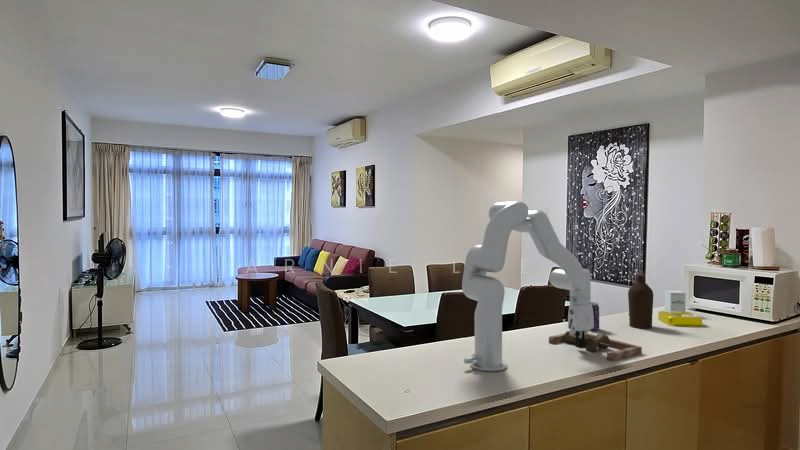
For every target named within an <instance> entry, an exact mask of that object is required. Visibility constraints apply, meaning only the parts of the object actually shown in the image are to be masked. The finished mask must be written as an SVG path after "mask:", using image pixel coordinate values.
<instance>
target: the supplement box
mask: <svg viewBox="0 0 800 450" xmlns="http://www.w3.org/2000/svg"><path fill="white" fill-rule="evenodd" d="M686 293H687V292H684V291H681V290H672V289H671V290H668V289H667V290H666V289H665V290H664V311H667V312H669V311H670V312H672V311H673V312H686V295H687V294H686Z"/></svg>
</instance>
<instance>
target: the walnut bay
mask: <svg viewBox="0 0 800 450" xmlns="http://www.w3.org/2000/svg"><path fill="white" fill-rule="evenodd" d="M564 334H565V333H561V334H556V335H551V336H548V343H549V344H552V345H553V344H559V343H562V342H565V341H564ZM596 336H597V335H596V334H591V333H588V332H587V334H586V338H592V339H596ZM609 340H610V345H611V346H612V347H611V348H614V349H617V350H614V351H610V352H607V353H606V361H609V362H615V361H618V360H619V361H620V360H623V359H626V358H630V357H634V356H637V355H641V354H642V353H643V352H642V351H643V349H642V346H640V345H635V344H631V343H627V342H623V341H619V340H616V339H611V338H609Z"/></svg>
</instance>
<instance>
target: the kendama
mask: <svg viewBox="0 0 800 450" xmlns="http://www.w3.org/2000/svg"><path fill="white" fill-rule="evenodd" d="M563 334H564V342H565V343H566V344H569V343H573V344H574V345H576V337H575V336H574V334H571V333H570V330H567V331H565V333H563ZM609 339H610V338H609V336H608V335H606V334H605V333H598V334H597V335H596V339H592V338H585V348H584V349H585V350H586V351H587V352H592V353H594V352H595V353H596V351H597V349H598V348H601V349H608V348H613V347H612V346H611V345H610V340H609Z"/></svg>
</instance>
